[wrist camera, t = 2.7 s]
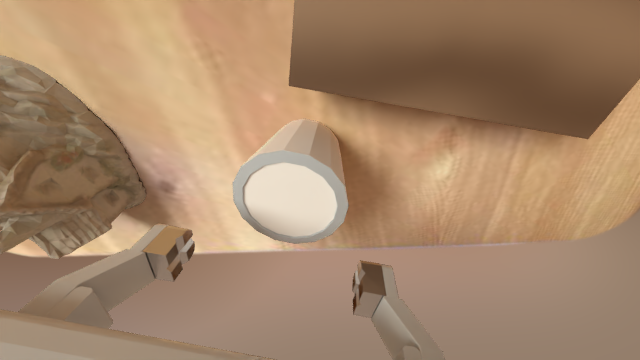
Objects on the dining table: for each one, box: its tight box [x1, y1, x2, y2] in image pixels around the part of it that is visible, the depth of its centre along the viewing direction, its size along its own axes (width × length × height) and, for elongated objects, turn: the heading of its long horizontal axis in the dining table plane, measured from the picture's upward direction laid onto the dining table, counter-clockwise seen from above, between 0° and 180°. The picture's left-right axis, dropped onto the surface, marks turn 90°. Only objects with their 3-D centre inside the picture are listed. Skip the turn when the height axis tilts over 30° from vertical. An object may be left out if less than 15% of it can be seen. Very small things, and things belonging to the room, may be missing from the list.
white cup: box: [233, 119, 349, 244], centre depth 16 cm, size 7×7×7 cm
